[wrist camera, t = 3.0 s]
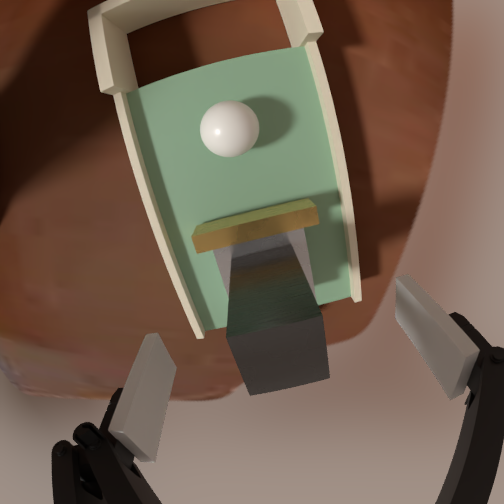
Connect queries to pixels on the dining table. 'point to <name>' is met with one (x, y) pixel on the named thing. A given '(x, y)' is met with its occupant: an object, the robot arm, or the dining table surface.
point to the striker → (269, 294)
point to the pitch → (231, 168)
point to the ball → (229, 128)
